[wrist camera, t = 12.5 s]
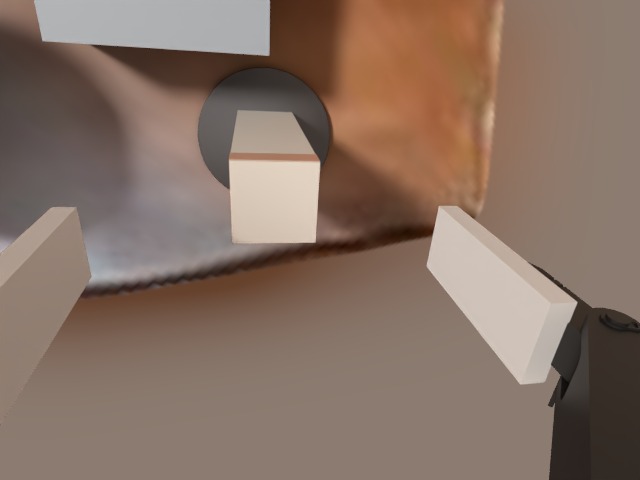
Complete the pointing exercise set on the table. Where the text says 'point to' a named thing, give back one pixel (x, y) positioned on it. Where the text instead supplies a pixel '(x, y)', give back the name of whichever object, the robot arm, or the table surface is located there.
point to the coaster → (257, 95)
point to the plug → (272, 180)
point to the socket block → (160, 24)
